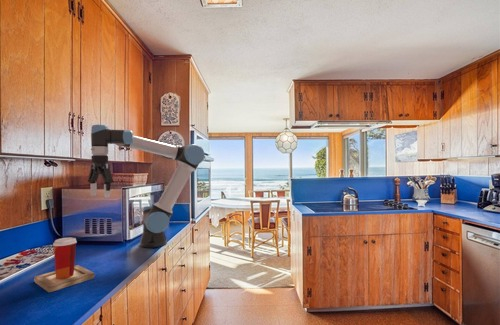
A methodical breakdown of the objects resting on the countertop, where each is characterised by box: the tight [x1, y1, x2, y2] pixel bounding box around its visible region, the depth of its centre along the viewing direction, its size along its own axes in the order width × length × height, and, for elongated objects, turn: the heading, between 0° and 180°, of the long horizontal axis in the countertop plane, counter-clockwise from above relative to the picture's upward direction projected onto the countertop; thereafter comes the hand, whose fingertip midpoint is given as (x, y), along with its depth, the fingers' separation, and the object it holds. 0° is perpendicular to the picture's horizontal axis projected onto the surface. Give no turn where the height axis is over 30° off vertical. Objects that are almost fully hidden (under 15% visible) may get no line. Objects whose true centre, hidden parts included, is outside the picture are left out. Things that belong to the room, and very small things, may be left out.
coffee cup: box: [52, 236, 78, 279], centre depth 111 cm, size 8×8×15 cm
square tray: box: [33, 264, 95, 293], centre depth 111 cm, size 16×16×2 cm
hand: (100, 196), depth 138 cm, fingers open, 13 cm apart
